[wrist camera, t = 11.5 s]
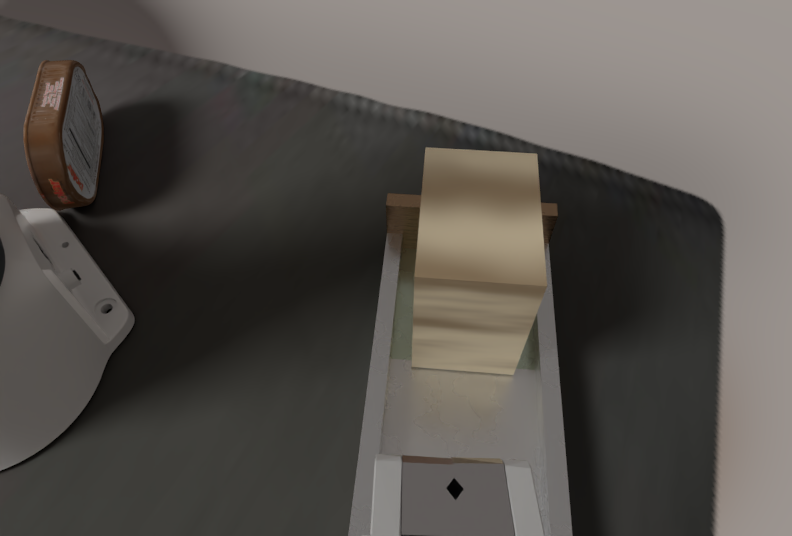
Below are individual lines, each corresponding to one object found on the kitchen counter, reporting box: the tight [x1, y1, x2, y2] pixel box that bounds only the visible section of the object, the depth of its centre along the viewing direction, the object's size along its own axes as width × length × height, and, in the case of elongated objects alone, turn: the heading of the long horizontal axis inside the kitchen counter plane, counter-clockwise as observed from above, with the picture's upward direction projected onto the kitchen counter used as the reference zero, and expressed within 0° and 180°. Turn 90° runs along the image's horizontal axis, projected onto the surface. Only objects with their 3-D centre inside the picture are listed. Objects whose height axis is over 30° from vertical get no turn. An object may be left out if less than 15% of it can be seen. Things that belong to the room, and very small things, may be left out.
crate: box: [411, 147, 547, 375], centre depth 37 cm, size 11×7×11 cm, turn 175°
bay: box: [348, 193, 573, 536], centre depth 37 cm, size 26×12×6 cm, turn 175°
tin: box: [24, 60, 104, 210], centre depth 49 cm, size 15×3×8 cm, turn 12°
